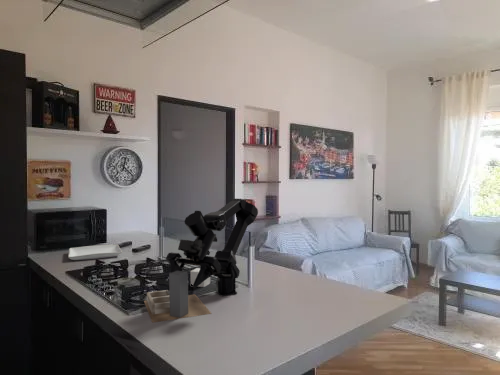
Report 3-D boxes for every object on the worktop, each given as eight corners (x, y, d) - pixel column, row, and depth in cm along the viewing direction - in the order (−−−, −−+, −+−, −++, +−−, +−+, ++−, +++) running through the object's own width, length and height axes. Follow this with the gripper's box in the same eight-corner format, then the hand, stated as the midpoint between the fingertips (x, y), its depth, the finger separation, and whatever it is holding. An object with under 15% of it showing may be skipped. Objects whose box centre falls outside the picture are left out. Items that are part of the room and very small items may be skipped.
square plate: (69, 253, 217) (69, 247, 217) (118, 249, 229) (118, 243, 229) (68, 263, 193) (67, 255, 193) (122, 258, 204) (122, 251, 204)
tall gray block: (178, 311, 116) (177, 270, 116) (188, 313, 114) (187, 271, 114) (169, 315, 112) (169, 273, 112) (180, 317, 111) (179, 274, 110)
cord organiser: (195, 296, 133) (195, 285, 133) (211, 316, 114) (211, 302, 114) (143, 303, 126) (143, 291, 126) (152, 325, 107) (152, 311, 107)
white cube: (204, 287, 146) (204, 272, 146) (190, 286, 148) (190, 271, 147) (210, 283, 152) (210, 268, 151) (197, 282, 153) (196, 267, 153)
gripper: (169, 228, 123) (146, 267, 114) (216, 231, 115) (195, 274, 105) (183, 248, 130) (163, 286, 121) (229, 252, 122) (210, 294, 112)
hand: (181, 285), depth 114 cm, fingers open, 9 cm apart
